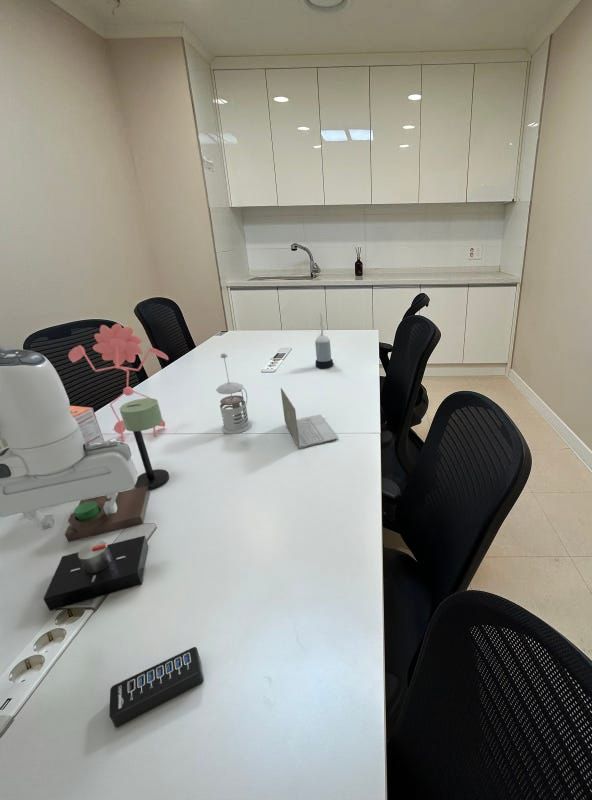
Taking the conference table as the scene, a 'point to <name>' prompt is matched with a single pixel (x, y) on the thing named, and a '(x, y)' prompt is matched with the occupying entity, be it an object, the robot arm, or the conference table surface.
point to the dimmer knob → (95, 557)
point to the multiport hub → (155, 686)
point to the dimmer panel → (97, 575)
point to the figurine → (117, 357)
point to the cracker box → (87, 424)
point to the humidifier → (323, 350)
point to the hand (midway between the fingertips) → (80, 519)
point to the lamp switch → (86, 510)
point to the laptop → (306, 426)
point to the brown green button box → (111, 515)
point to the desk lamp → (138, 419)
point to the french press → (233, 422)
